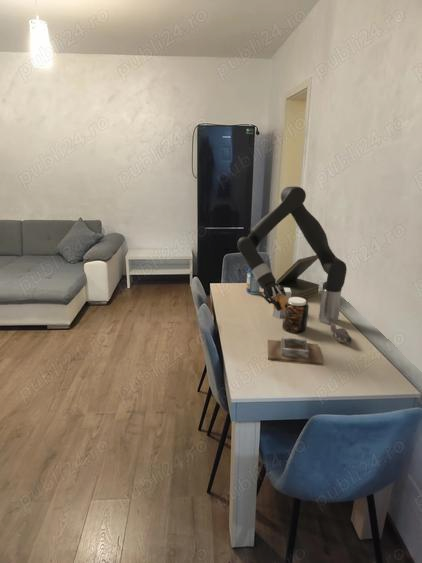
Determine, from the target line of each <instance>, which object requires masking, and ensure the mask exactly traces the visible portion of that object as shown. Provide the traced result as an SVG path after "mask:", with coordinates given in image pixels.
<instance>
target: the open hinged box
mask: <svg viewBox="0 0 422 563" xmlns="http://www.w3.org/2000/svg"><path fill="white" fill-rule="evenodd" d="M317 260H319V259H318V256H317V255H316V254H315V255H311V256H308V257H303V258H299V259H297V260H296V261H295V262H294V263H293V264H292V265H291V266H290V267H289V268H288V269H287V270H286V271H285V272H284V273H283V274H282V275H281V276H280V277H279V278H278V279H277V280H276V281H275V283H276V284H277V285H278V286H281V285H283V287H284V288H290V290H291V292H292V293H291V297H300V298H303V299H305V300H306V299H307V298H309V297H313V296H316V295H318V294H319V289H320V284H319V283H315V282H312V281H307V280H305V279H301V278H299V277H300V276H301V275H303V273H304V272H306V270H307V269H309V267H311V266H312V265H313V264H314V263H315V262H316V261H317Z"/></svg>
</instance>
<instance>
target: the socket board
mask: <svg viewBox="0 0 422 563" xmlns="http://www.w3.org/2000/svg"><path fill="white" fill-rule="evenodd" d="M319 347H320V346H319V344H318V343H310V342H307V339H303V338H294V337H293V338H292V337H281V338H280V340H276V339H275V340H274V339H267V360H270V361H280V362H290V363H301V364H313V365H320V366H321V365H324V361H323V358H322V355H321V351H320V350H321V349H320V348H319Z"/></svg>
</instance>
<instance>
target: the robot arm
mask: <svg viewBox="0 0 422 563" xmlns="http://www.w3.org/2000/svg"><path fill="white" fill-rule="evenodd" d="M306 198H307V195H306V191H305V189H303V187H300V186H287V187H284V188H283V189H282V190H281V193H280V199H281V200H280V201H281V203H280V204H279V205H277V207H275V208H274V209H273V210H272V211H271V212H269V213H267V214H266V215H264V216H263V217H262V218H261V219H260V220H259V221H258V222H257V223H256V224H255V225H254V226H253V227H252V228H251V230H250V233H249V234H248V235H247V236H242V237H240V238H239V239H238V241H237V244H236V246H237V249H238V250H239V252H240V253H241V255H242V256H243V258H244V259H245V261H246V264H247V265H248V268H250V269H251V271H252V273H253V275H254V277H255V279H256V280H257V282H258V284H259V285H260V289H262V290H263V292H261V293H260V296H262V298H264V300H265V301H266V302H267V303H268V304H270V305H271V304H272V305H273V307H274V306H275V307H276V309H277V310H278V311H280V310H282V307H281V306H280V304H279V302H277V299H276V295H277V294H278V293H279V294H283V295H285V296H286V293H285V290H284V287H283V285H281V286H278V285H277V284H276V283H277V282H276V281H277V280H276V278H275V276H274V275H273V272H272V271H271V269H270V268H269V267H268V265H267V264H266V263H265V260H264V258H263V257H262V256H261V255H260V254H259V253H260V252H258V250H257V248H258V246H259V245H260V243H261V242H262V240H264V239H265V238H266V237H267V235H269V233H271V231H272V230H274V228H275V227H276V226H277V225H278V224H279V223H281V222H282V221H283V220H284V219H286V218H287V216H289V215H291V216H292V217H293V219H294V221H295V222H296V224H297V227H298V228H299V230H300V231H301V233H302V235H303V237H304V239H305V240H306V242H307V243H308V245H309V246H310V248H311V249H312V251H313V252H314V253H315V255H317V256H318V259H317V260H319V263H320V265H321V268H322V270H323V271H324V273H326V274H327V276H326V281H324V282H323V283H322V289H321V298H320V304H319V312H318V320H319V322H321V323H323V324H328V325H330V324H329V321H328V320H327V318H326V317H330V318H332V319H333V321H334V322H335V323H336V324H338V322H339V316H340V311H341V310H340V309H341V305H340V304H341V303H340V302H341V295H342V289H343V287H344V285H345V280H346V275H347V269H348V268H347V264H346V263H345V261H343V260H342V259H340V258H338V257H337V256H336V255H335V253H334V252H333V251H332V249H331V247H330V245H329V242H328V237H327V235H326V234H327V233H326V232H325V230H324V229H323V227H322V225H321V223H320V222H319V221H318V220H317V218H316V217H315V216H314V215H313V214H312V213H311V212H310V211H309V210H308V209H307V208H306V207H305V205H304V202H306V201H305V200H306ZM287 307H288V304H287V303H286V308H287Z"/></svg>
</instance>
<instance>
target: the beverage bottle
mask: <svg viewBox="0 0 422 563" xmlns="http://www.w3.org/2000/svg"><path fill="white" fill-rule="evenodd" d="M246 272H247V274H246V289H245V290H246V291H245V292H246V293H247V294H250V295H258V294H260V289H261V287H260V285H259V284H258V282H257V280H256V279H255V277H254V275H253V273H252V271H251V269H250V267H248V269H247V271H246Z"/></svg>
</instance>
